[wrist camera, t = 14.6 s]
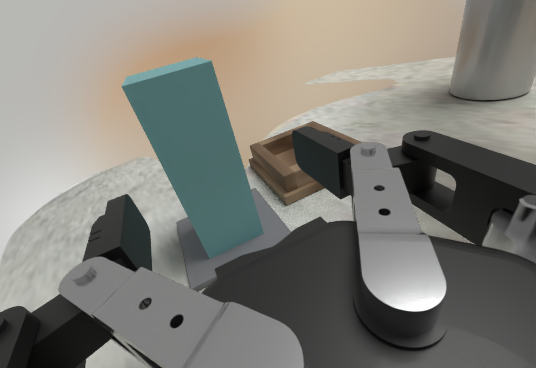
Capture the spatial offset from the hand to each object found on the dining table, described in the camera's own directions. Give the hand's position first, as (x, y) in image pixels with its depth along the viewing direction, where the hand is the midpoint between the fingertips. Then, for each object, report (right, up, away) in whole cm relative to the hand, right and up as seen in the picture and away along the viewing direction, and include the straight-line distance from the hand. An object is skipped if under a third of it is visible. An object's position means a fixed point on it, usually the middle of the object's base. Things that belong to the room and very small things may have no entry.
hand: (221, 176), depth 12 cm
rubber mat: (-1, -5, +12) cm, 13 cm away
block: (-1, -5, +11) cm, 12 cm away
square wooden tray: (+7, +2, +19) cm, 20 cm away
